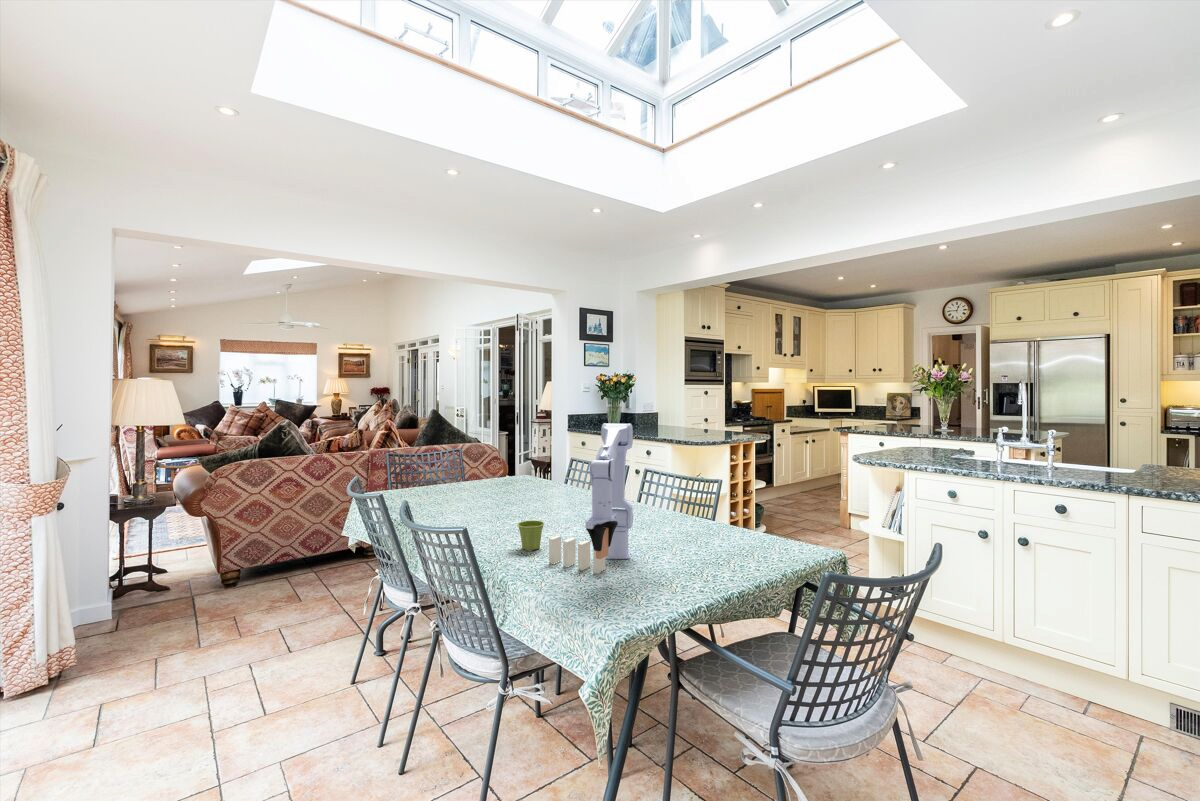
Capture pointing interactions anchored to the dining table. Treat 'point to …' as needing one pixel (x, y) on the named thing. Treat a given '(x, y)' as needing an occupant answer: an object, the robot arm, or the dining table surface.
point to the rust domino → (603, 546)
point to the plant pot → (530, 534)
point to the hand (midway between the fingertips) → (602, 548)
